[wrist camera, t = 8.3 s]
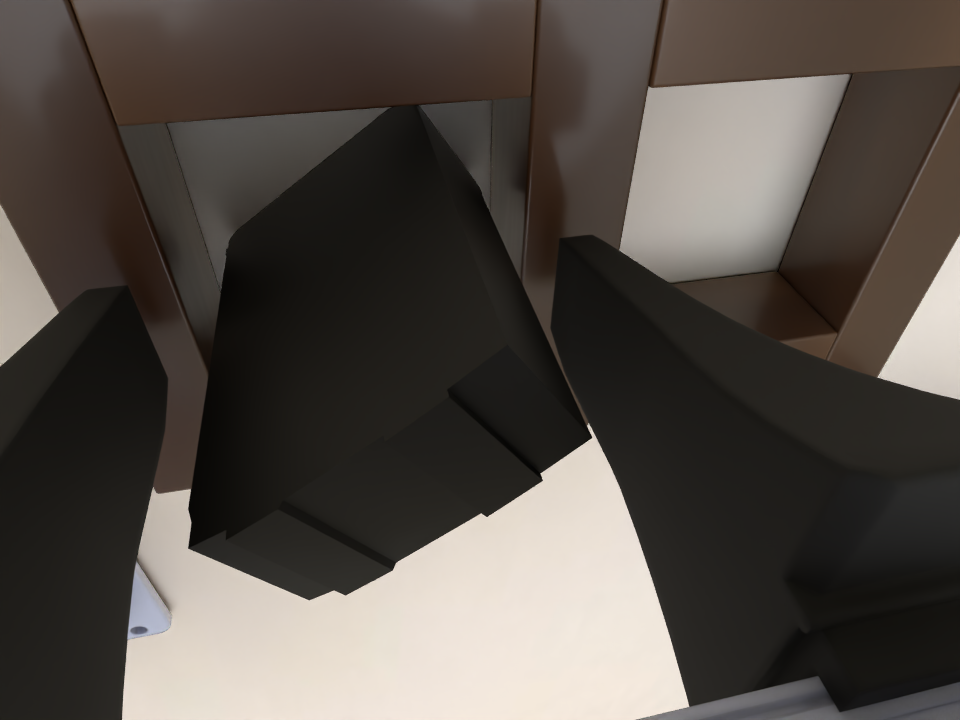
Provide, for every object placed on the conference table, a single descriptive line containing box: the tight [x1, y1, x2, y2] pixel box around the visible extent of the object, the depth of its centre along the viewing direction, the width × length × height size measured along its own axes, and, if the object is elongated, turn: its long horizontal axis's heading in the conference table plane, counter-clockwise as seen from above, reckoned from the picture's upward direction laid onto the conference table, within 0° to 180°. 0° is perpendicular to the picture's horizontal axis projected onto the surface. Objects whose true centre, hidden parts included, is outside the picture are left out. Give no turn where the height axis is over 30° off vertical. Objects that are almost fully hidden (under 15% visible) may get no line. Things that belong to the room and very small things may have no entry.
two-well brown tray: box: [0, 0, 960, 494], centre depth 13 cm, size 18×10×3 cm, turn 89°
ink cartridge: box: [188, 105, 592, 600], centre depth 11 cm, size 5×2×8 cm, turn 122°
